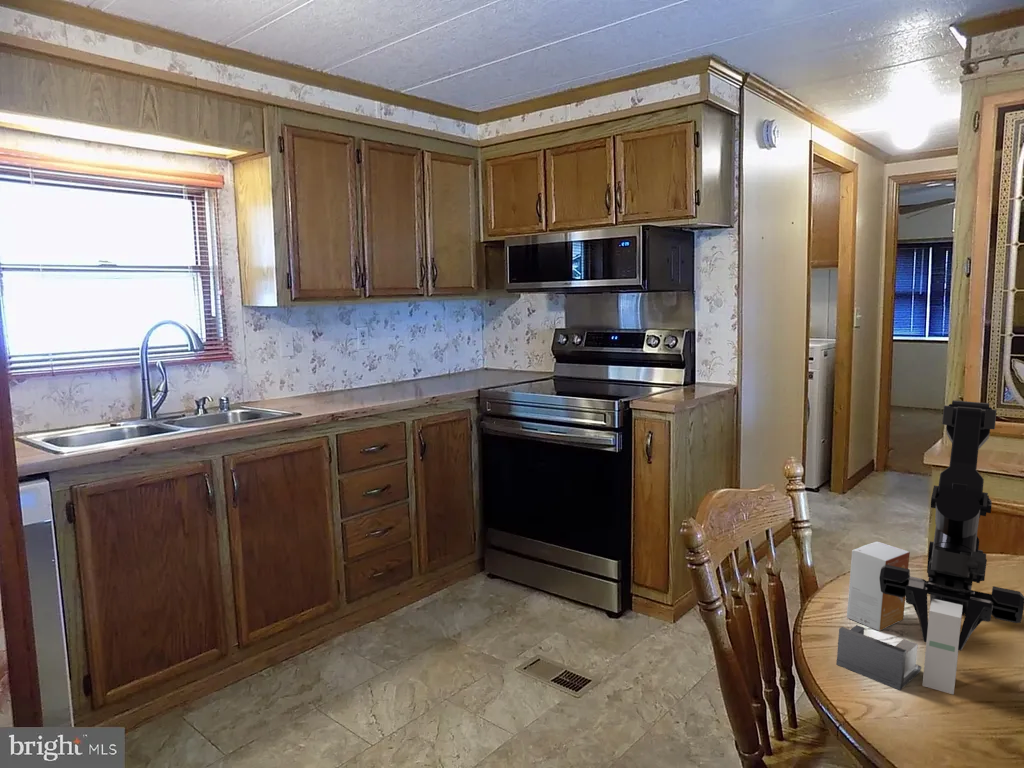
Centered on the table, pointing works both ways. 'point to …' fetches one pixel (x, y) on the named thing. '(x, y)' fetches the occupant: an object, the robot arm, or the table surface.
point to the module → (942, 645)
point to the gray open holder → (877, 657)
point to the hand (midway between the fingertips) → (942, 645)
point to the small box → (874, 586)
